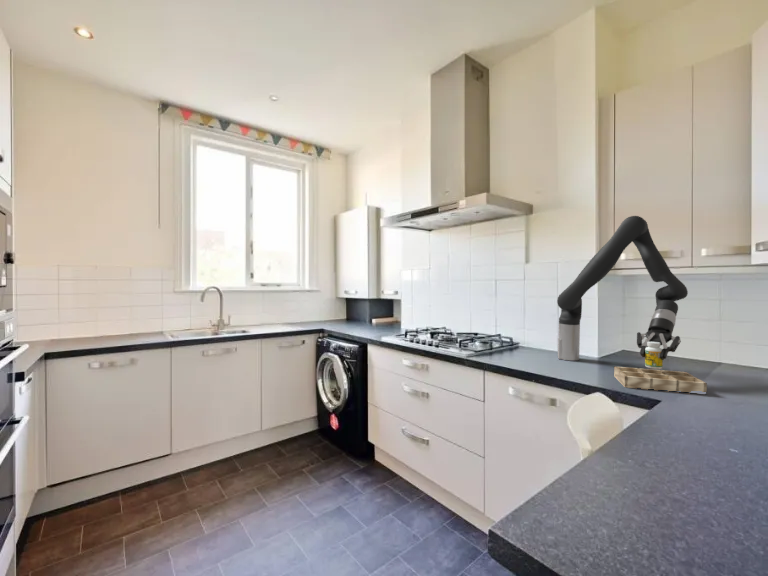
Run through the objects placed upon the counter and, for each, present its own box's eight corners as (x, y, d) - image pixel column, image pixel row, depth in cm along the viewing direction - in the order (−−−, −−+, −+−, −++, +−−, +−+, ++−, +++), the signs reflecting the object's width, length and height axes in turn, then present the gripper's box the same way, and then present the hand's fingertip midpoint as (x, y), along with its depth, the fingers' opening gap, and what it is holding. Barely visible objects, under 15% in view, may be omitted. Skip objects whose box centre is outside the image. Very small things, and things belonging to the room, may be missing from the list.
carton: (624, 387, 131) (625, 376, 131) (614, 376, 146) (614, 366, 146) (706, 395, 122) (706, 383, 122) (686, 382, 137) (686, 372, 137)
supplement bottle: (666, 368, 136) (666, 343, 135) (655, 369, 134) (655, 344, 134) (651, 365, 141) (651, 340, 140) (641, 366, 139) (641, 341, 139)
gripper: (638, 315, 147) (627, 348, 140) (683, 318, 136) (674, 354, 129) (643, 327, 151) (632, 360, 143) (687, 331, 139) (678, 366, 132)
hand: (652, 357), depth 136 cm, fingers closed on supplement bottle, 5 cm apart
